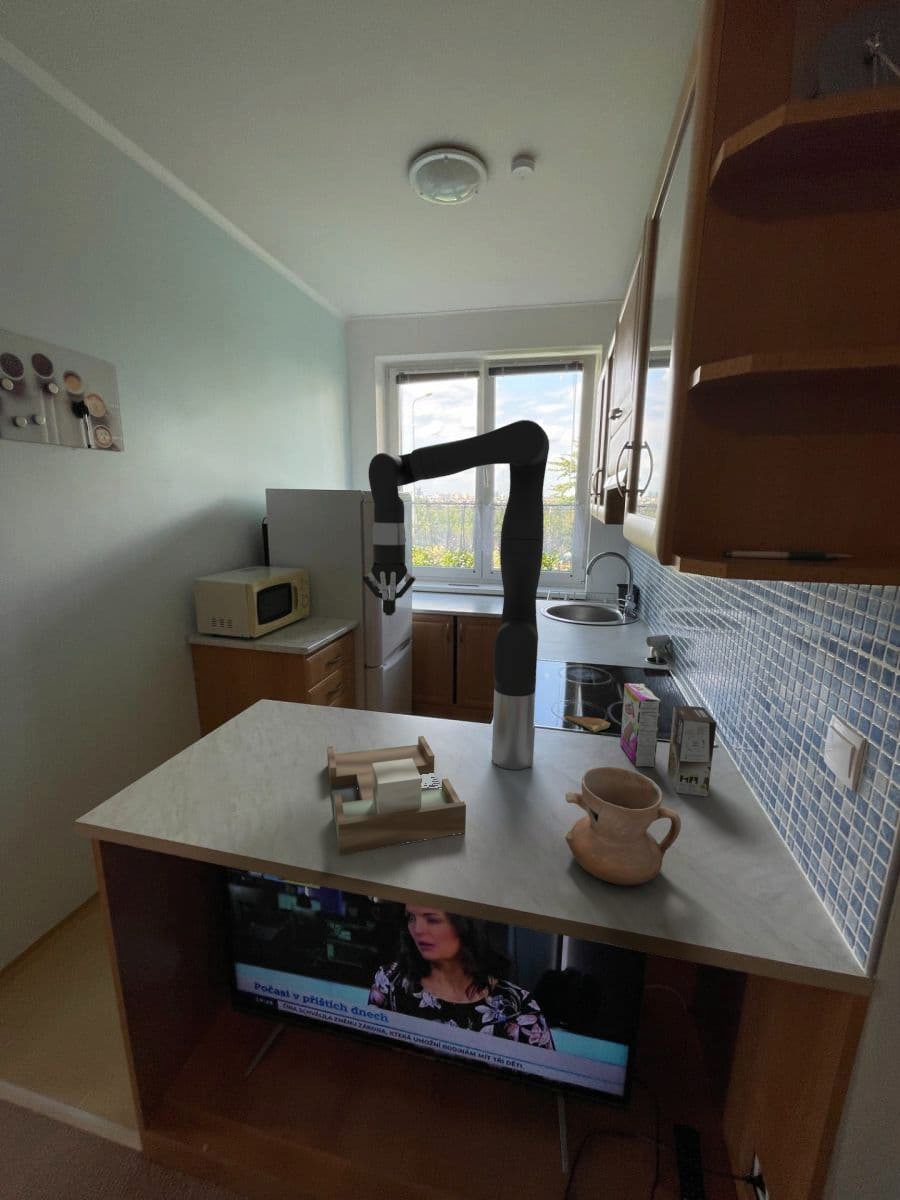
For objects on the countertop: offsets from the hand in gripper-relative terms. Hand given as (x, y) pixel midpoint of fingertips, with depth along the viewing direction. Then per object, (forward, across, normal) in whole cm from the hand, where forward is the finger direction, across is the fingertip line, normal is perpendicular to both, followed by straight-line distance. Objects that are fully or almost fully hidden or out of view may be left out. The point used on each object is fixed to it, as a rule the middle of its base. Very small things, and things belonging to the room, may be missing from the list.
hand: (389, 614), depth 121 cm
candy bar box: (+32, +60, -3) cm, 68 cm away
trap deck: (+32, +4, -24) cm, 40 cm away
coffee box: (+32, +67, -15) cm, 76 cm away
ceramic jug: (+32, +45, -42) cm, 70 cm away
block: (+30, +7, -34) cm, 46 cm away
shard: (+33, +52, +14) cm, 63 cm away
